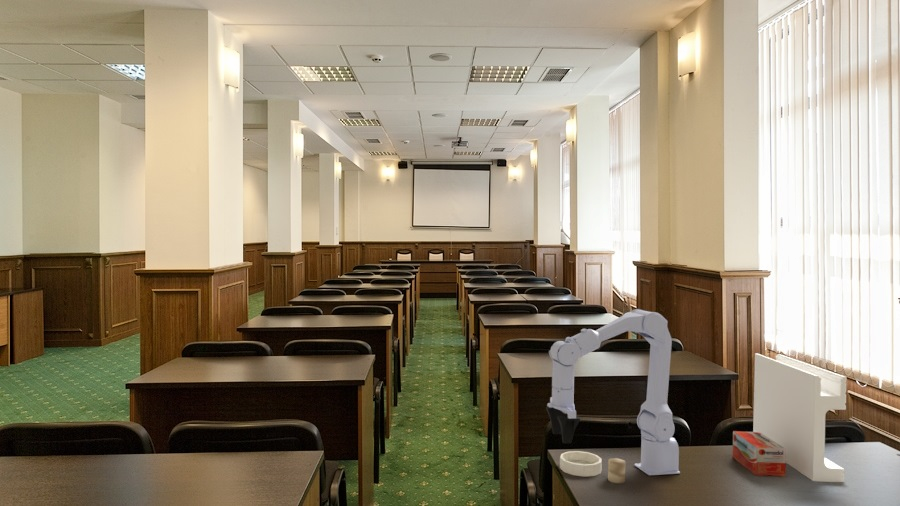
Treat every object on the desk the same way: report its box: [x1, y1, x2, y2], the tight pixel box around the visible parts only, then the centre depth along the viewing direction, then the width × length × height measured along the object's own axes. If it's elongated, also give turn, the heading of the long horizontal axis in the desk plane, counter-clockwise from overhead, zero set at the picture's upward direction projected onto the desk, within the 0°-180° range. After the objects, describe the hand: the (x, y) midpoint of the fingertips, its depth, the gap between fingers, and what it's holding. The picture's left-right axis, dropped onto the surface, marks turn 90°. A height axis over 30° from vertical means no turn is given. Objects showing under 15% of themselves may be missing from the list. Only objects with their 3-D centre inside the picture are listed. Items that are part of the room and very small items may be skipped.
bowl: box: [559, 450, 603, 478], centre depth 165 cm, size 11×11×3 cm
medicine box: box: [732, 430, 787, 478], centre depth 169 cm, size 15×8×8 cm, turn 179°
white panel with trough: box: [752, 352, 848, 483], centre depth 176 cm, size 35×8×28 cm, turn 177°
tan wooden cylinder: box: [607, 457, 626, 484], centre depth 157 cm, size 4×4×5 cm
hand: (561, 438), depth 159 cm, fingers open, 7 cm apart
